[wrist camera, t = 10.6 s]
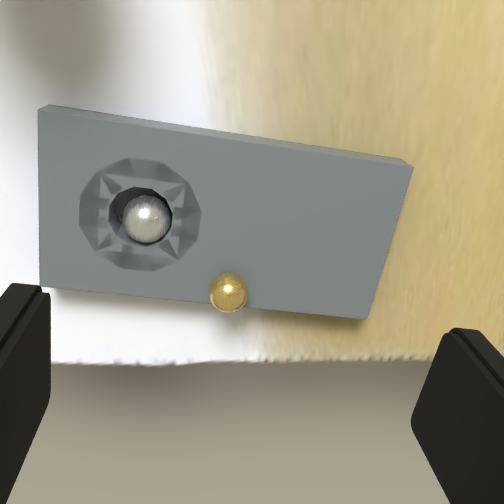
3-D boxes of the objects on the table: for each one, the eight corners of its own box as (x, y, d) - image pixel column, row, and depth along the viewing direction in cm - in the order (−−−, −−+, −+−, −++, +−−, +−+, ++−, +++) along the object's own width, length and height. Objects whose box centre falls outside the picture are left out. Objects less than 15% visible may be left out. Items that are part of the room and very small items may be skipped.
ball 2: (249, 267, 37) (253, 286, 34) (243, 301, 38) (246, 321, 35) (211, 263, 36) (211, 282, 34) (206, 297, 38) (206, 318, 35)
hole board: (401, 159, 37) (413, 167, 35) (358, 304, 42) (366, 319, 40) (49, 104, 33) (37, 110, 31) (49, 271, 38) (39, 286, 36)
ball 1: (167, 209, 33) (118, 198, 33) (161, 254, 34) (113, 244, 34) (178, 195, 36) (132, 185, 36) (171, 237, 38) (128, 227, 38)
